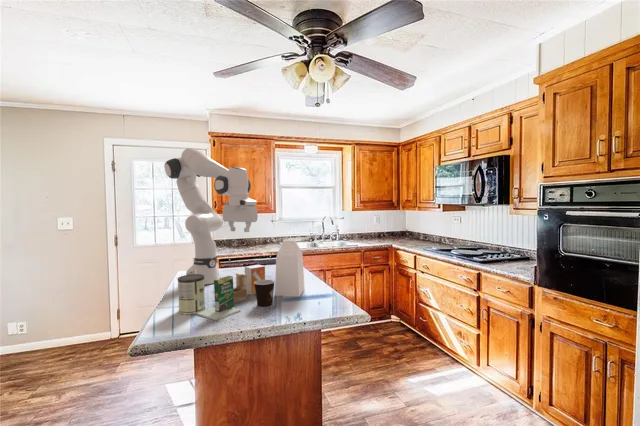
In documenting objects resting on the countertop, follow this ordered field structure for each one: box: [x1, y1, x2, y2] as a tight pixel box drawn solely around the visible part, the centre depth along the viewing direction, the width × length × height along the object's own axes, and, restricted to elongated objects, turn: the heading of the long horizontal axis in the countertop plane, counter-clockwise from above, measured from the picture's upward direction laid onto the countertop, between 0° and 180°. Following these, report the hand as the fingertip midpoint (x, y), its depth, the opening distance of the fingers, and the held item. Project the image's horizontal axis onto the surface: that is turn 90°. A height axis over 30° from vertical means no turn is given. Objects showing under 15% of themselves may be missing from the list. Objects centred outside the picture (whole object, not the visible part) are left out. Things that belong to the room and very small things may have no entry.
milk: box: [274, 239, 306, 297], centre depth 156 cm, size 12×12×26 cm
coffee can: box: [177, 274, 206, 316], centre depth 132 cm, size 10×10×14 cm
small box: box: [244, 264, 266, 296], centre depth 157 cm, size 8×6×13 cm
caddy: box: [233, 273, 248, 304], centre depth 144 cm, size 6×12×11 cm, turn 146°
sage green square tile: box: [196, 306, 241, 321], centre depth 128 cm, size 12×12×1 cm
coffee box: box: [213, 275, 235, 312], centre depth 131 cm, size 8×3×13 cm, turn 146°
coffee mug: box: [254, 279, 275, 308], centre depth 139 cm, size 12×9×10 cm
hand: (239, 231), depth 147 cm, fingers open, 8 cm apart
